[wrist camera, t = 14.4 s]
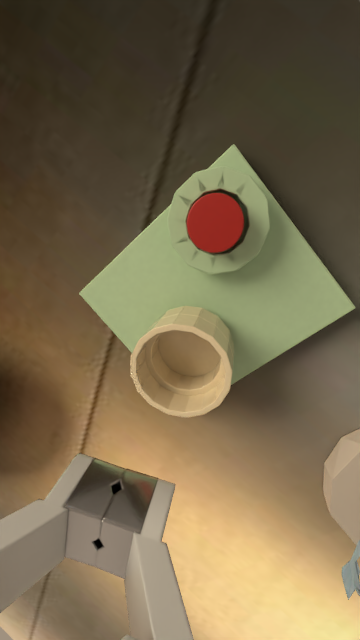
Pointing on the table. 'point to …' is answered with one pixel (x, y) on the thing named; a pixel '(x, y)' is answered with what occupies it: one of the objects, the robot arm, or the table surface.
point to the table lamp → (345, 499)
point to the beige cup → (184, 362)
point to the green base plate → (223, 273)
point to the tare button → (215, 222)
